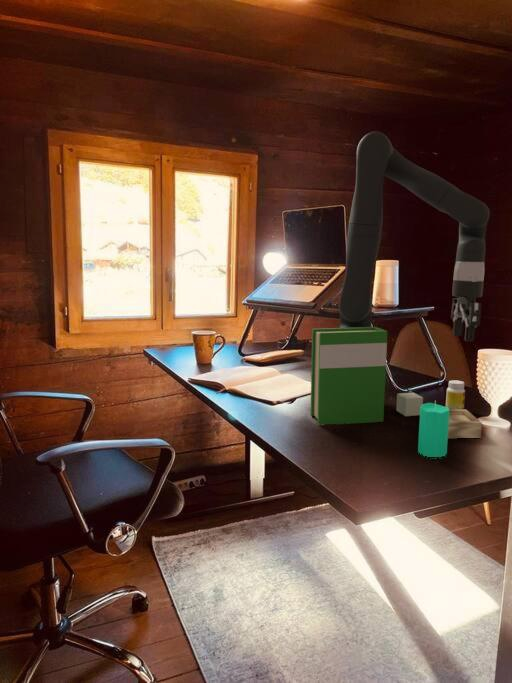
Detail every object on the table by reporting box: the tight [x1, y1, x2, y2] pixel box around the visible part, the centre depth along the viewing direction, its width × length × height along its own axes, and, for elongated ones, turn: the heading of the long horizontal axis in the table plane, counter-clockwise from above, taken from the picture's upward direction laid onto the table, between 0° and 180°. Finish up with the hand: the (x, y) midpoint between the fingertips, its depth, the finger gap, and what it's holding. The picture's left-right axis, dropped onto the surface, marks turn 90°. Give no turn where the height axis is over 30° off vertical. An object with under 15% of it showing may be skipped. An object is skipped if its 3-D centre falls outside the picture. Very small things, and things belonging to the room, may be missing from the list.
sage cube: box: [396, 392, 424, 417], centre depth 135 cm, size 5×5×5 cm
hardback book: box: [310, 326, 388, 425], centre depth 129 cm, size 18×7×24 cm, turn 99°
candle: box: [417, 400, 450, 458], centre depth 107 cm, size 6×6×12 cm
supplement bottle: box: [445, 379, 466, 410], centre depth 136 cm, size 5×5×8 cm
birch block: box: [448, 409, 483, 439], centre depth 121 cm, size 10×10×4 cm
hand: (462, 338), depth 134 cm, fingers open, 8 cm apart
